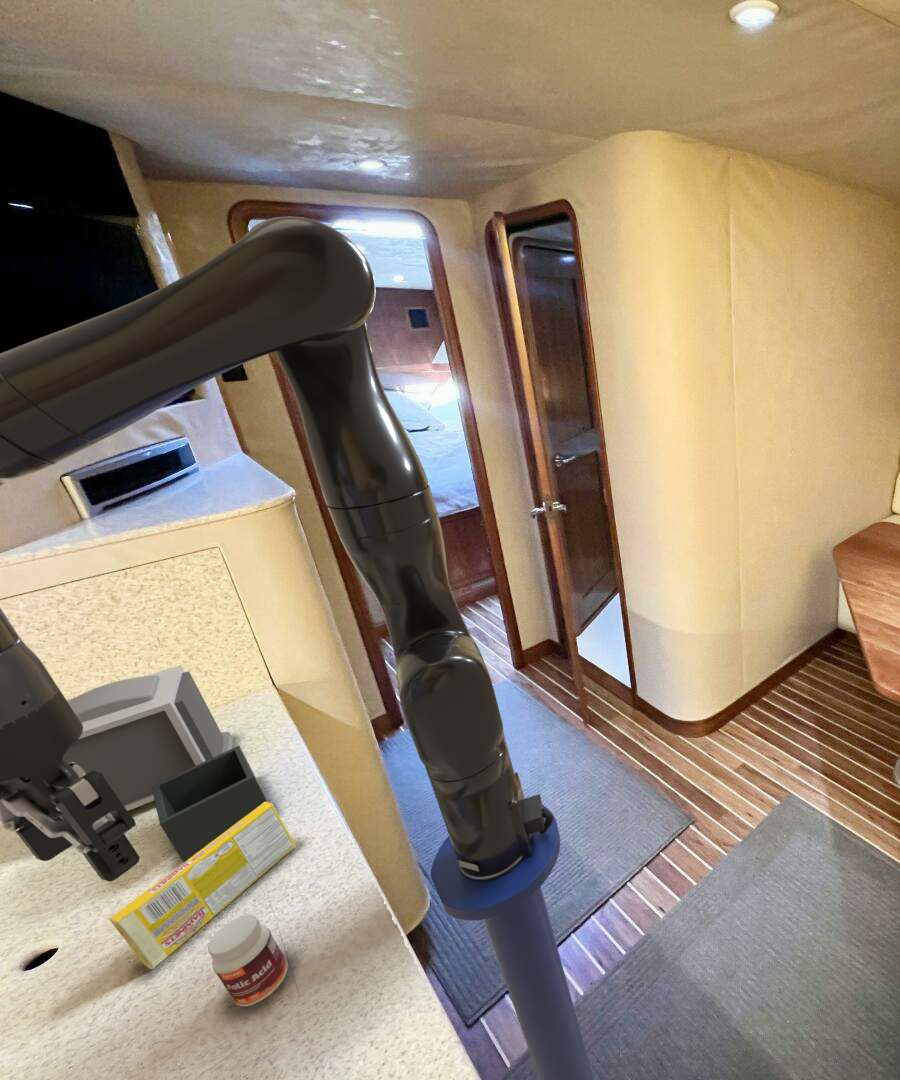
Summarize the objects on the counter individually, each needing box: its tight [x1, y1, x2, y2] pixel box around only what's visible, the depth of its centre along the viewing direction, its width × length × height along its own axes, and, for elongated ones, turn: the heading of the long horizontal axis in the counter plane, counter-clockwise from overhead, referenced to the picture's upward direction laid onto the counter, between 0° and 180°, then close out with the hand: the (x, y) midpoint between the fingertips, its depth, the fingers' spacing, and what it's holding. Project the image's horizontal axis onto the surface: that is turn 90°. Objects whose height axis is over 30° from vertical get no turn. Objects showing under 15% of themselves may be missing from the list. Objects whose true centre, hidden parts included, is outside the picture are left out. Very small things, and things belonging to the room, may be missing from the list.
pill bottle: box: [207, 913, 289, 1007], centre depth 57 cm, size 5×5×8 cm
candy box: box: [108, 801, 297, 970], centre depth 66 cm, size 16×2×8 cm, turn 161°
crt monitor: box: [60, 665, 234, 830], centre depth 84 cm, size 18×13×18 cm
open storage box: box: [152, 745, 268, 863], centre depth 78 cm, size 10×10×8 cm
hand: (90, 861), depth 46 cm, fingers open, 8 cm apart
